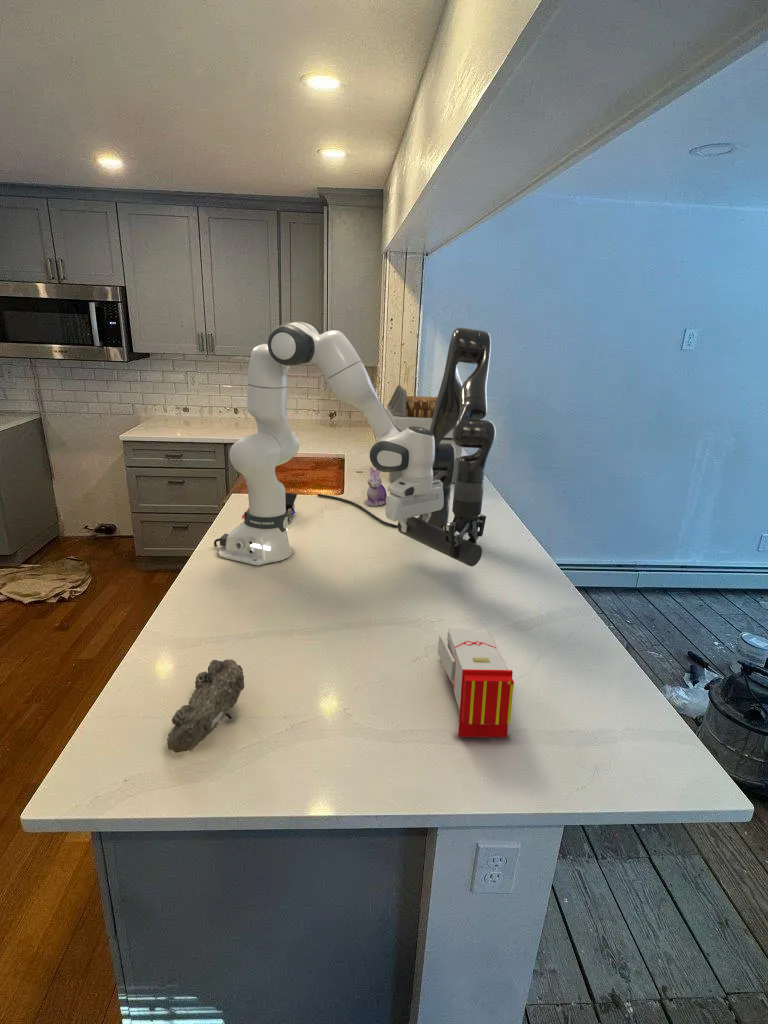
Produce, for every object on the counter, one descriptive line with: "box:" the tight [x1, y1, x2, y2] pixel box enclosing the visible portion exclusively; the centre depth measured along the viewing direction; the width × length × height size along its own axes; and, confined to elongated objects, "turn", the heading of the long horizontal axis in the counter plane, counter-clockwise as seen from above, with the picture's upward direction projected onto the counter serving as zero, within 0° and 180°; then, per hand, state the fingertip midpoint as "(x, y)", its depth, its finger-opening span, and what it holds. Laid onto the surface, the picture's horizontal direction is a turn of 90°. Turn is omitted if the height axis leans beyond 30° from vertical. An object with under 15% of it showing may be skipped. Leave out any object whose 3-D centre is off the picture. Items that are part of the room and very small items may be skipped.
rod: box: [397, 516, 483, 567], centre depth 160 cm, size 28×6×6 cm, turn 40°
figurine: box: [366, 466, 388, 507], centre depth 227 cm, size 9×10×15 cm
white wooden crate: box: [386, 384, 463, 484], centre depth 268 cm, size 34×33×41 cm
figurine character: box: [285, 492, 298, 523], centre depth 209 cm, size 7×8×15 cm
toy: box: [437, 628, 515, 738], centre depth 117 cm, size 12×13×30 cm
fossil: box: [166, 658, 245, 754], centre depth 106 cm, size 22×10×15 cm
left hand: (414, 528), depth 167 cm, fingers closed on rod, 6 cm apart
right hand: (462, 554), depth 153 cm, fingers closed on rod, 6 cm apart
